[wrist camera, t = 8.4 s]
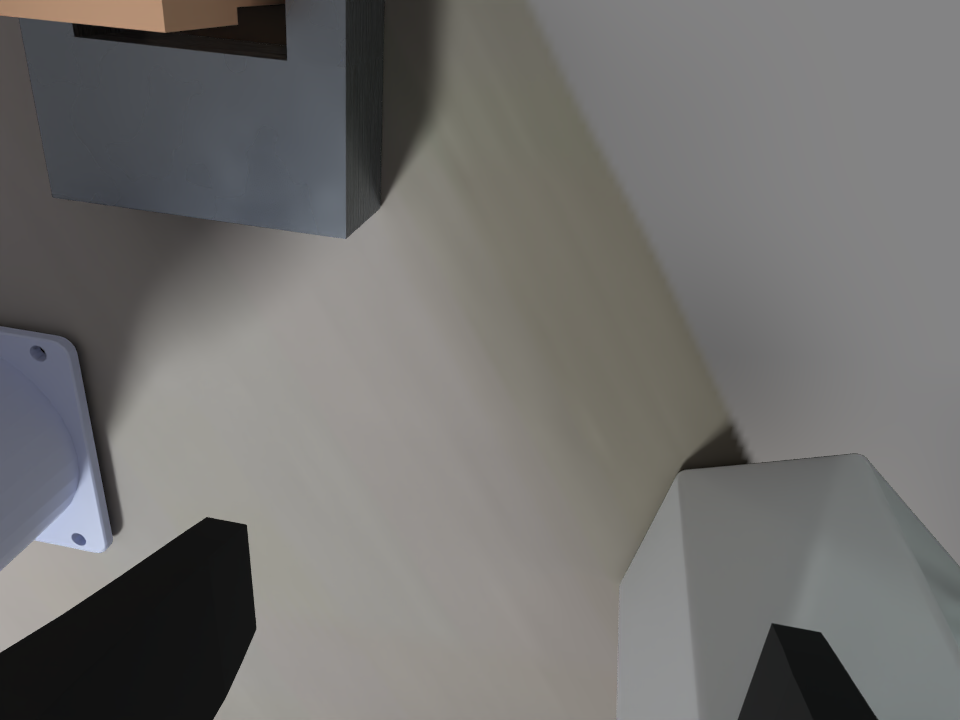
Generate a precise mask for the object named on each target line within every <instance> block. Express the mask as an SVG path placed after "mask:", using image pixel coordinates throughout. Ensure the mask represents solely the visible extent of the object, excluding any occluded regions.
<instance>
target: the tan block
mask: <svg viewBox="0 0 960 720" xmlns="http://www.w3.org/2000/svg"><path fill="white" fill-rule="evenodd" d="M277 4H285V0H0V15H1V16H10V17H20V18H30V19H39V20H49V21H58V22H68V23H77V24H87V25H96V26H106V27H116V28H125V29H135V30H144V31H154V32H163V33H167V32H176V31H185V30H194V29H203V28H212V27H221V26H230V25H238V17H237V7H247V6H262V5H277Z"/></svg>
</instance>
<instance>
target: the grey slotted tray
mask: <svg viewBox="0 0 960 720" xmlns="http://www.w3.org/2000/svg"><path fill="white" fill-rule="evenodd" d="M285 9H286V37H287V45H278V44H269V43H259V42H250V41H241V40H232V39H223V38H214V37H205V36H196V35H186V34H177V33H168V32H167V33H163V32H154V31H144V30H135V29H125V28H116V27H106V26H96V25H87V24H77V23H68V22H58V21H49V20H39V19H30V18H20V17H19V22H20V27H21V32H22V38H23V43H24V48H25V54H26V59H27V64H28V70H29V75H30V80H31V86H32V91H33V96H34V102H35V107H36V112H37V118H38V123H39V128H40V134H41V139H42V144H43V150H44V155H45V160H46V165H47V171H48V176H49V181H50V187H51V192H52V197H53V198H60V199H67V200H75V201H82V202H89V203H96V204H103V205H110V206H117V207H124V208H131V209H138V210H145V211H152V212H159V213H166V214H173V215H181V216H188V217H195V218H202V219H209V220H216V221H223V222H230V223H237V224H244V225H251V226H258V227H265V228H272V229H279V230H286V231H294V232H301V233H308V234H315V235H322V236H329V237H336V238H343V239H346V238H348V237H349V236H350V235H351V234H352V233H353V232H354V231H355V230H356V229H358V228H359V227H360V226H361V225H362V224H363V223H364V222H365V221H366V220H368V219H369V218H370V217H371V216H372V215H373V214H374V213H375V212H376V211H378V210H379V209H380V193H381V143H382V94H383V44H384V0H285Z"/></svg>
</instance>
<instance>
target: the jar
mask: <svg viewBox="0 0 960 720" xmlns="http://www.w3.org/2000/svg"><path fill="white" fill-rule="evenodd" d="M771 623H774V624H780V625H785V626H790V627H796V628H801V629H806V630H812V631H817V632H821V633H822V634H823V636H824V637H825V639H826V640H827V641H828V643H829V645H830V646H831V648H832V649H833V651H834V652H835V654H836V655H837V657H838V658H839V660H840V661H841V663H842V665H843V666H844V668H845V669H846V671H847V672H848V674H849V675H850V677H851V679H852V680H853V682H854V683H855V685H856V686H857V688H858V689H859V691H860V693H861V694H862V696H863V697H864V699H865V700H866V702H867V703H868V705H869V706H870V708H871V709H872V711H873V712H874V714H875V715H876V717H877V718H878V720H960V567H959V565H958V564H957V563H956V562H955V561H954V560H953V558H952V557H951V556H950V555H949V554H948V552H947V551H946V550H945V549H944V548H943V547H942V546H941V544H940V543H939V542H938V541H937V540H936V539H935V537H934V536H933V535H932V534H931V533H930V532H929V530H928V529H927V528H926V527H925V526H924V525H923V523H922V522H921V521H920V520H919V519H918V518H917V516H916V515H915V514H914V513H913V512H912V511H911V509H910V508H909V507H908V506H907V505H906V504H905V502H904V501H903V500H902V499H901V498H900V497H899V495H898V494H897V493H896V492H895V491H894V490H893V488H892V487H891V486H890V485H889V484H888V483H887V481H886V480H885V479H884V478H883V477H882V476H881V474H880V473H879V472H878V471H877V470H876V469H875V467H873V465H872V464H871V463H870V462H869V460H868V459H867V458H866V457H865V456H863V455H861V454H844V455H834V456H824V457H814V458H804V459H794V460H784V461H773V462H762V463H752V464H742V465H731V466H721V467H710V468H699V469H688V470H683V471H681V472H679V473H678V474H677V475H676V477H675V479H674V481H673V483H672V485H671V487H670V489H669V491H668V493H667V494H666V496H665V498H664V500H663V502H662V504H661V506H660V508H659V510H658V512H657V514H656V516H655V518H654V519H653V521H652V523H651V525H650V527H649V529H648V531H647V533H646V535H645V537H644V539H643V541H642V543H641V544H640V546H639V548H638V550H637V552H636V554H635V556H634V558H633V560H632V562H631V564H630V566H629V568H628V569H627V571H626V573H625V575H624V577H623V579H622V581H621V583H620V586H619V625H618V670H617V715H616V720H738V717H739V714H740V711H741V708H742V705H743V703H744V700H745V697H746V694H747V691H748V688H749V686H750V683H751V680H752V677H753V674H754V672H755V669H756V666H757V663H758V660H759V657H760V655H761V652H762V649H763V646H764V643H765V640H766V638H767V635H768V632H769V629H770V626H771Z"/></svg>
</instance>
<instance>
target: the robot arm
mask: <svg viewBox="0 0 960 720" xmlns="http://www.w3.org/2000/svg"><path fill="white" fill-rule="evenodd" d="M40 347H41V348H42V349H43V350H44V351H45V353H46V354H44V353H43V352H42V351H41V349H40ZM33 540H36V541H41V542H46V543H51V544H56V545H60V546H65V547H70V548H75V549H80V550H85V551H90V552H95V553H102V552H104V551H105V550H106V549H107V548H108V547H109V546H110V545H111V544H112V542H113V537H112V532H111V527H110V521H109V516H108V511H107V506H106V500H105V495H104V490H103V485H102V479H101V474H100V469H99V464H98V458H97V453H96V448H95V443H94V438H93V432H92V427H91V422H90V417H89V411H88V406H87V401H86V396H85V390H84V385H83V380H82V375H81V369H80V364H79V359H78V354H77V351H76V349H75V347H74V345H73V344H72V343H71V342H70V341H69V340H67V339H66V338H64V337H61V336H57V335H51V334H45V333H39V332H33V331H27V330H21V329H15V328H9V327H3V326H0V571H1V570H2V569H3V568H4V567H6V566H7V565H8V564H9V563H10V562H11V561H12V560H13V559H14V558H15V557H16V556H17V555H18V554H19V553H21V552H22V551H23V550H24V549H25V548H26V547H27V546H28V545H29V544H30V543H31V542H32V541H33ZM255 631H256V618H255V608H254V597H253V586H252V576H251V565H250V554H249V543H248V533H247V525H246V524H240V523H235V522H230V521H224V520H219V519H214V518H208V517H206V518H205V519H203V520H202V521H200V522H199V523H197V524H196V525H194V526H193V527H191V528H190V529H188V530H187V531H185V532H184V533H182V534H181V535H179V536H178V537H176V538H175V539H174V540H172V541H171V542H169V543H168V544H166V545H165V546H163V547H162V548H160V549H159V550H158V551H156V552H155V553H153V554H152V555H150V556H149V557H147V558H146V559H144V560H143V561H142V562H140V563H139V564H137V565H136V566H134V567H133V568H131V569H130V570H128V571H127V572H125V573H124V574H123V575H121V576H120V577H118V578H117V579H115V580H114V581H112V582H111V583H109V584H108V585H106V586H105V587H103V588H102V589H100V590H99V591H97V592H96V593H94V594H93V595H91V596H90V597H88V598H87V599H85V600H84V601H82V602H81V603H79V604H78V605H76V606H75V607H73V608H72V609H70V610H69V611H67V612H66V613H64V614H63V615H61V616H59V617H58V618H56V619H54V620H53V621H51V622H50V623H48V624H46V625H45V626H43V627H41V628H40V629H38V630H37V631H35V632H33V633H32V634H30V635H28V636H27V637H25V638H24V639H22V640H20V641H19V642H17V643H15V644H14V645H12V646H11V647H9V648H7V649H6V650H4V651H2V652H1V653H0V720H213V719H214V717H215V715H216V714H217V712H218V710H219V708H220V707H221V705H222V703H223V702H224V700H225V698H226V696H227V694H228V692H229V690H230V687H231V685H232V683H233V681H234V679H235V677H236V674H237V672H238V670H239V668H240V666H241V663H242V661H243V659H244V657H245V654H246V652H247V650H248V647H249V645H250V643H251V640H252V638H253V636H254V633H255ZM738 720H878V718H877V717H876V715H875V714H874V712H873V711H872V709H871V708H870V706H869V705H868V703H867V702H866V700H865V699H864V697H863V696H862V694H861V693H860V691H859V689H858V688H857V686H856V685H855V683H854V682H853V680H852V679H851V677H850V675H849V674H848V672H847V671H846V669H845V668H844V666H843V665H842V663H841V661H840V660H839V658H838V657H837V655H836V654H835V652H834V651H833V649H832V648H831V646H830V645H829V643H828V641H827V640H826V639H825V637H824V636H823V634H822V633H821V632H817V631H812V630H806V629H801V628H796V627H790V626H785V625H780V624H774V623H771V626H770V629H769V632H768V635H767V638H766V640H765V643H764V646H763V649H762V652H761V655H760V657H759V660H758V663H757V666H756V669H755V672H754V674H753V677H752V680H751V683H750V686H749V688H748V691H747V694H746V697H745V700H744V703H743V705H742V708H741V711H740V714H739V717H738Z"/></svg>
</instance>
